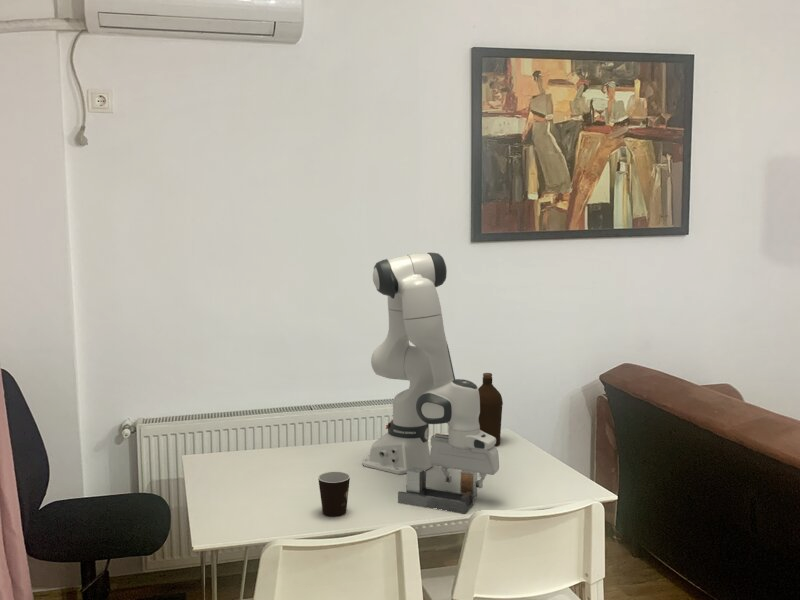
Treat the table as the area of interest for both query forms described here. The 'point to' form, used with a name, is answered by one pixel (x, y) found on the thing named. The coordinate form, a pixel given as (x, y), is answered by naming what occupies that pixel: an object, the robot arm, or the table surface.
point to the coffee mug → (334, 493)
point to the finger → (468, 482)
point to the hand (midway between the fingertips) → (463, 484)
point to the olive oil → (490, 408)
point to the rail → (432, 494)
